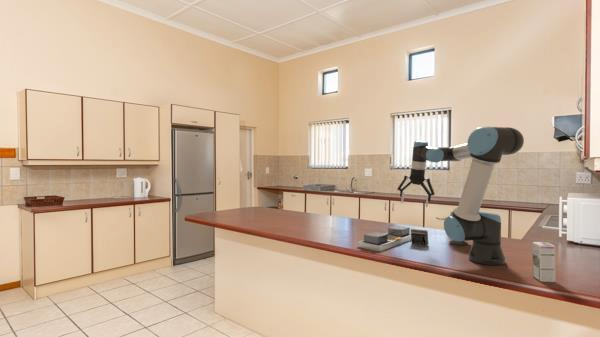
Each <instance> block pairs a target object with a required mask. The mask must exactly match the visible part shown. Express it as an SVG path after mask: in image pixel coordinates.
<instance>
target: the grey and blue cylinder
mask: <svg viewBox="0 0 600 337" xmlns="http://www.w3.org/2000/svg"><path fill="white" fill-rule="evenodd" d="M452 213H453V211H450V214H449V215H448V216H452ZM448 243H449V244H451V245H454V246H456V245H457V246H466V245H469V243H468V241H453V240H450V241H448Z"/></svg>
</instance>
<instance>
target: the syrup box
mask: <svg viewBox="0 0 600 337" xmlns="http://www.w3.org/2000/svg"><path fill="white" fill-rule="evenodd" d="M532 277H533V278H534V279H536V280H537V281H539V282H543V283H544V282H545V283H556V245H554V244H552V243H549V242H546V241H545V242H544V241H533V242H532Z"/></svg>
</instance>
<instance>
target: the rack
mask: <svg viewBox="0 0 600 337" xmlns="http://www.w3.org/2000/svg"><path fill="white" fill-rule="evenodd" d="M410 228H411V227H409V226H401V225H394V226H389V227H387V232H385V233H383V232H377V231H372V232H369V233H365V234H363V239H362V240H359V241H358V242H357V247H358V248H361V249H365V250H370V251H375V252H383V251H386V250H388V249H392V248H395V247H397V246H399V245H402V244H405V243H407V242H410V241H411V229H410Z"/></svg>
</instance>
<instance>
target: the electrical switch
mask: <svg viewBox="0 0 600 337" xmlns="http://www.w3.org/2000/svg"><path fill="white" fill-rule="evenodd" d="M410 233H411V245H412V246H419V247H425V248H426V247H427V246H429V244H430V242H429V233H428V230H427V229H419V228H418V229H417V228H411V229H410Z"/></svg>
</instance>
